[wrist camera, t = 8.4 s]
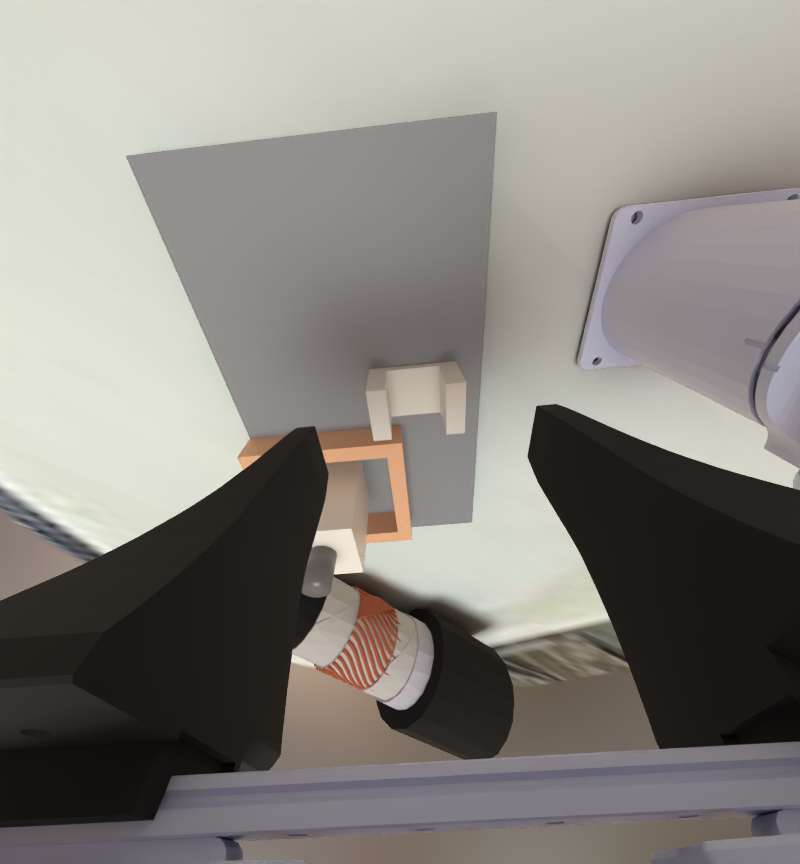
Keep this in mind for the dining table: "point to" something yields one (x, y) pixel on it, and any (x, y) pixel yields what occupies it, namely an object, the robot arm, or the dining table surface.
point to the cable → (410, 669)
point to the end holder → (359, 448)
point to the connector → (339, 529)
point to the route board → (340, 280)
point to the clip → (416, 395)
